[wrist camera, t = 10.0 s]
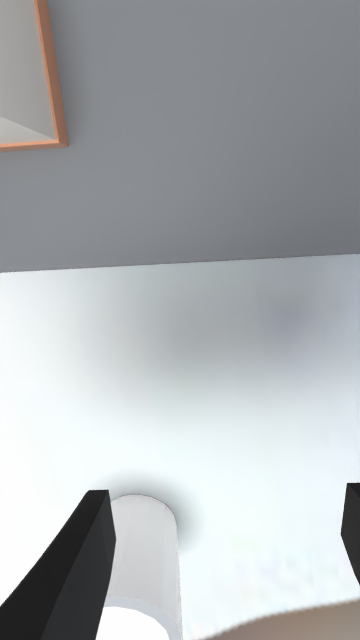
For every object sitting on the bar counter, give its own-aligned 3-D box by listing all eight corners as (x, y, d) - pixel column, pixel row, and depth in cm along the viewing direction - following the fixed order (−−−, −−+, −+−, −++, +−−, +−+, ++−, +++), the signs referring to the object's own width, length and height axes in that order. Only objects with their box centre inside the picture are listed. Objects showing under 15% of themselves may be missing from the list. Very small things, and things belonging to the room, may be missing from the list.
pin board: (423, -198, 13) (452, -248, 11) (369, 247, 18) (384, 252, 16) (-148, -126, 14) (-187, -163, 12) (-40, 269, 19) (-59, 275, 18)
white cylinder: (107, 474, 24) (73, 582, 17) (200, 505, 24) (202, 621, 18) (79, 541, 26) (40, 660, 19) (165, 568, 26) (156, 692, 20)
